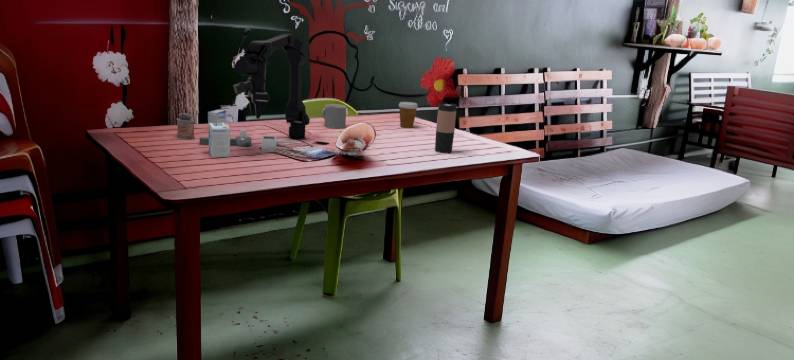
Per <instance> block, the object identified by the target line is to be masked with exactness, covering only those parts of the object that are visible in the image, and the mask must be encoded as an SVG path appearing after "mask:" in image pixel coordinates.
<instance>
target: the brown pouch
mask: <svg viewBox="0 0 794 360" xmlns="http://www.w3.org/2000/svg"><path fill="white" fill-rule="evenodd" d="M178 116H179V118H176V127H177V128H176V129H177V131H176V132H177V133H176V138H178V137H180V138H179V139H182V138H183V139H184V140H195V139H196V137H195V120H194V119H193V114H189V113H186V112H183V113H179V115H178ZM183 139H182V140H183Z"/></svg>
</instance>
